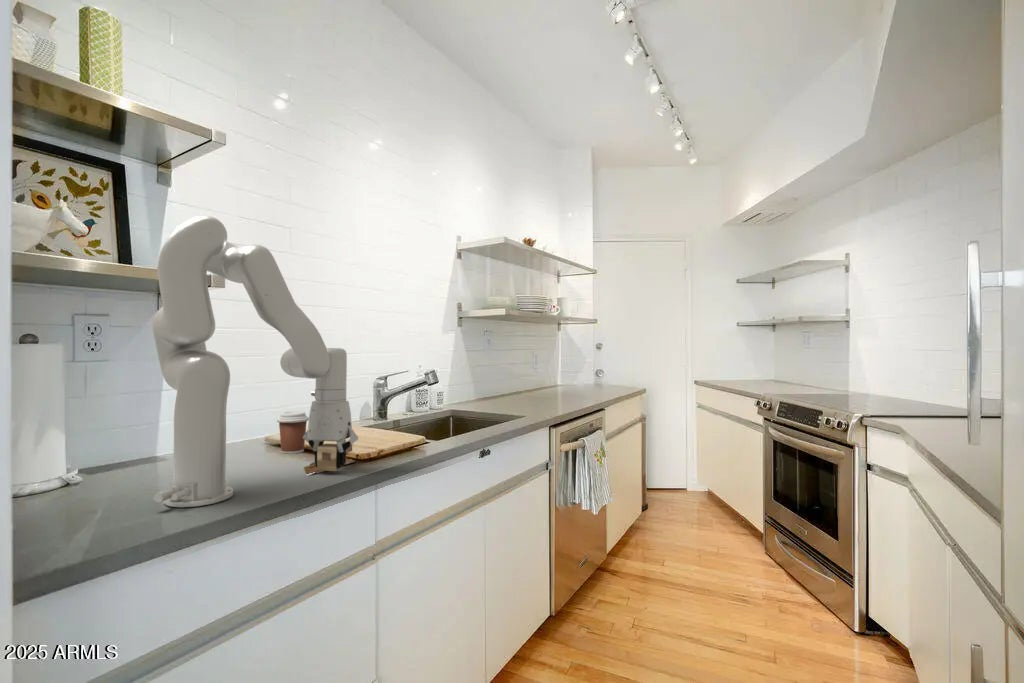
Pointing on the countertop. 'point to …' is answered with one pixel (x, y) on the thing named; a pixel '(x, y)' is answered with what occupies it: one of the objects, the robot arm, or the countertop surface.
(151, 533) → the countertop surface
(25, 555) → the countertop surface
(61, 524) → the countertop surface
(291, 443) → the coffee cup
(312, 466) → the wooden fragment
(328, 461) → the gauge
